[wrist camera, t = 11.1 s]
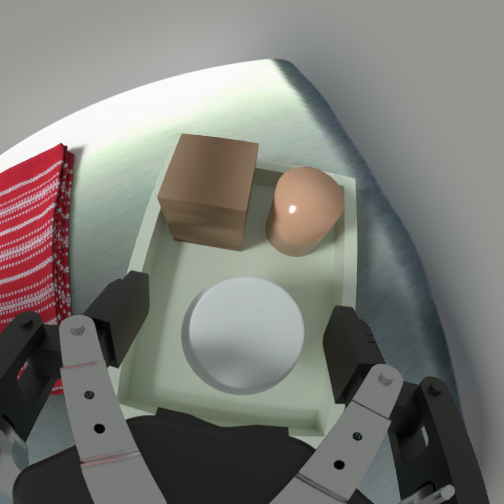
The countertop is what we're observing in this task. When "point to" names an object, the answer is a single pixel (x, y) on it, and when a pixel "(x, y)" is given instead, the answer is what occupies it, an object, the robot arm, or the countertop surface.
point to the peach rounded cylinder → (303, 210)
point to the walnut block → (209, 190)
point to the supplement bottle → (242, 335)
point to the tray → (227, 266)
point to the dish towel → (36, 239)
